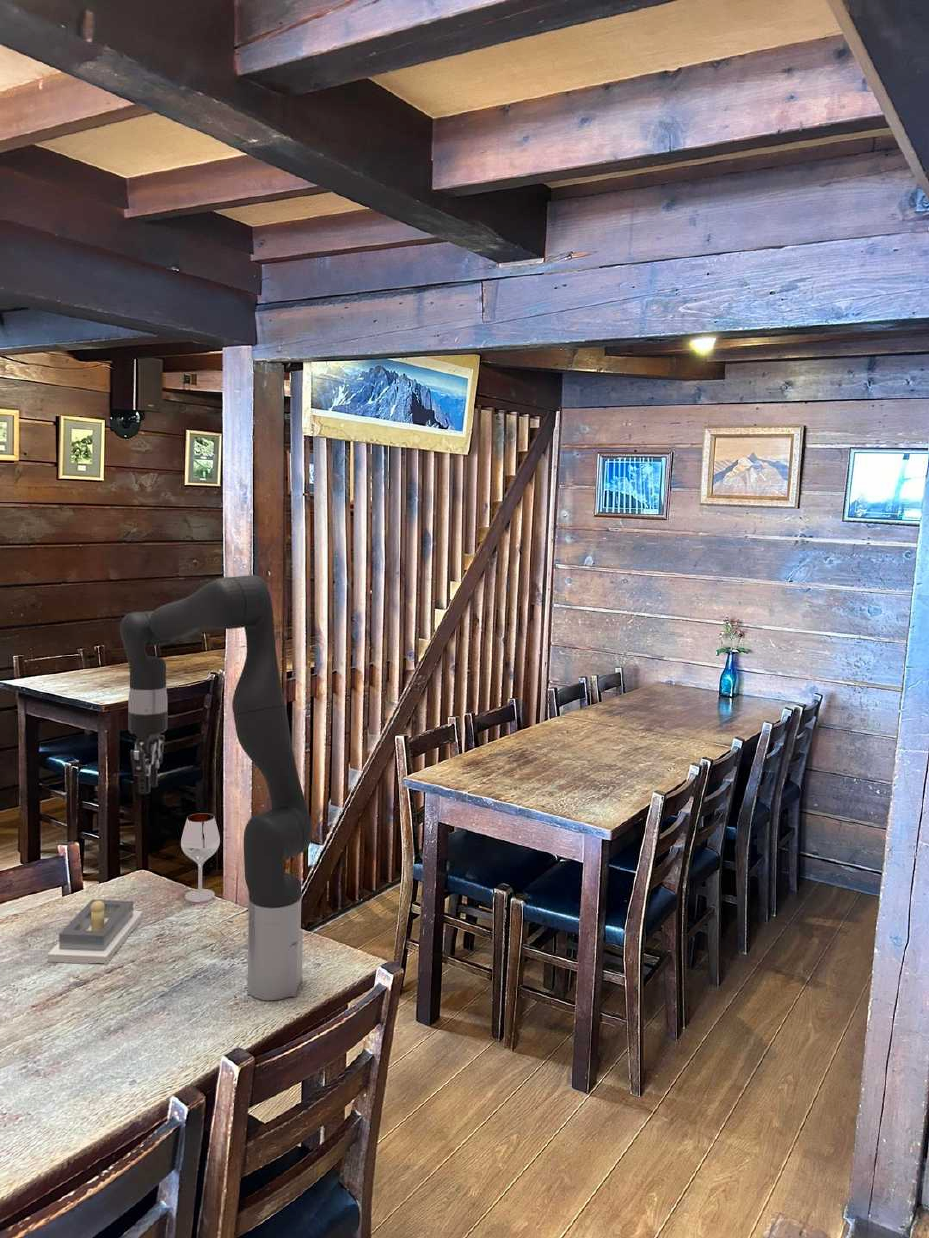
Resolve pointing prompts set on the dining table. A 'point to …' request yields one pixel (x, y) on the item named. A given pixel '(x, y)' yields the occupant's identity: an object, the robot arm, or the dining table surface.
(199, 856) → the wineglass
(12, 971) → the dining table surface
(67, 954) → the board
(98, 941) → the grey rectangular frame
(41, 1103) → the dining table surface
